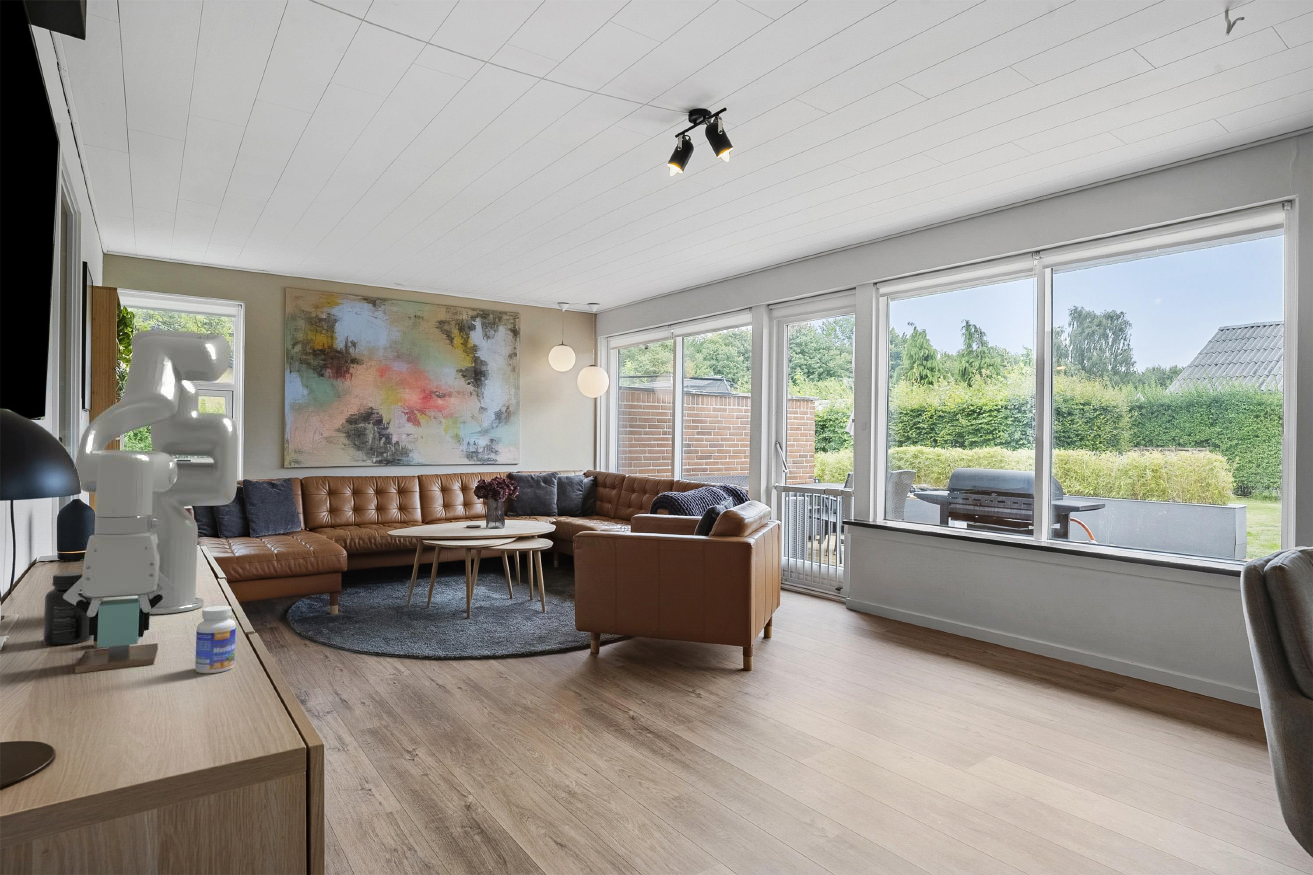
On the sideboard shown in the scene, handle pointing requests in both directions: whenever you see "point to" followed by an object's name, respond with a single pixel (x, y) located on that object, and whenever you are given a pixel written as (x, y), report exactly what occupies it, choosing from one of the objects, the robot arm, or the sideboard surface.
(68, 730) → the sideboard surface
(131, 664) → the brown square base
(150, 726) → the sideboard surface
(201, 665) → the pill bottle
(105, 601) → the teal rectangular block
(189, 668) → the sideboard surface
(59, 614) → the supplement bottle
